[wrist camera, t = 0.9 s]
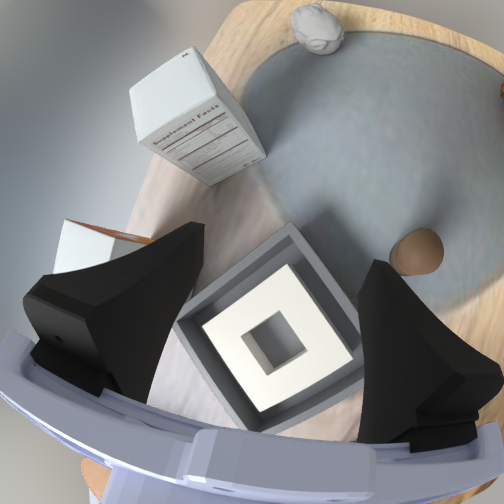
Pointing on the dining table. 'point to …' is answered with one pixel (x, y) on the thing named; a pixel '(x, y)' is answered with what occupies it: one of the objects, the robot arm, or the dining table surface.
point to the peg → (417, 253)
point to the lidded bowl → (95, 476)
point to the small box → (94, 246)
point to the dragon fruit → (502, 90)
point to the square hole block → (275, 336)
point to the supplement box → (194, 120)
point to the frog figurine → (316, 29)
